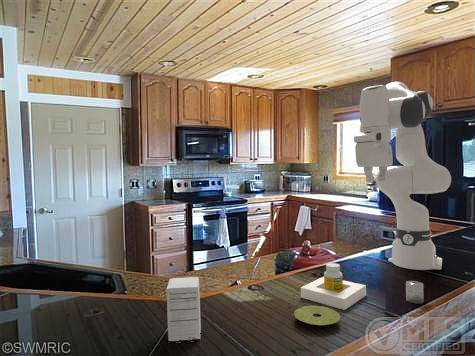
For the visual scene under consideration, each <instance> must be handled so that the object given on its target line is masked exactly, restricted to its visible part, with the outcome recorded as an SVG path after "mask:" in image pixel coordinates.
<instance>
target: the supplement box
mask: <svg viewBox="0 0 475 356" xmlns="http://www.w3.org/2000/svg"><path fill="white" fill-rule="evenodd" d="M200 296H201V295H200V278H199V277H198V276H192V277H191V276H189V277H187V276H186V277H177V278H176V277H172V278H169V280H168V283H167V287H166V310H167V311H166V313H167V315H166V316H167V336H168V337H167V338H168V341H179V340H192V339H200V340H201V334H200V333H201V331H202V328H201V327H202V325H201V303H200V302H201V298H200Z"/></svg>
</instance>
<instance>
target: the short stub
mask: <svg viewBox="0 0 475 356" xmlns="http://www.w3.org/2000/svg"><path fill="white" fill-rule="evenodd" d="M424 295H425V294H424V283H423V282H420V281H417V280H407V281H405V299H406V301H407V302H409V303H412V304H419V305H420V304H423V303H424V302H425V301H424Z"/></svg>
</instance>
